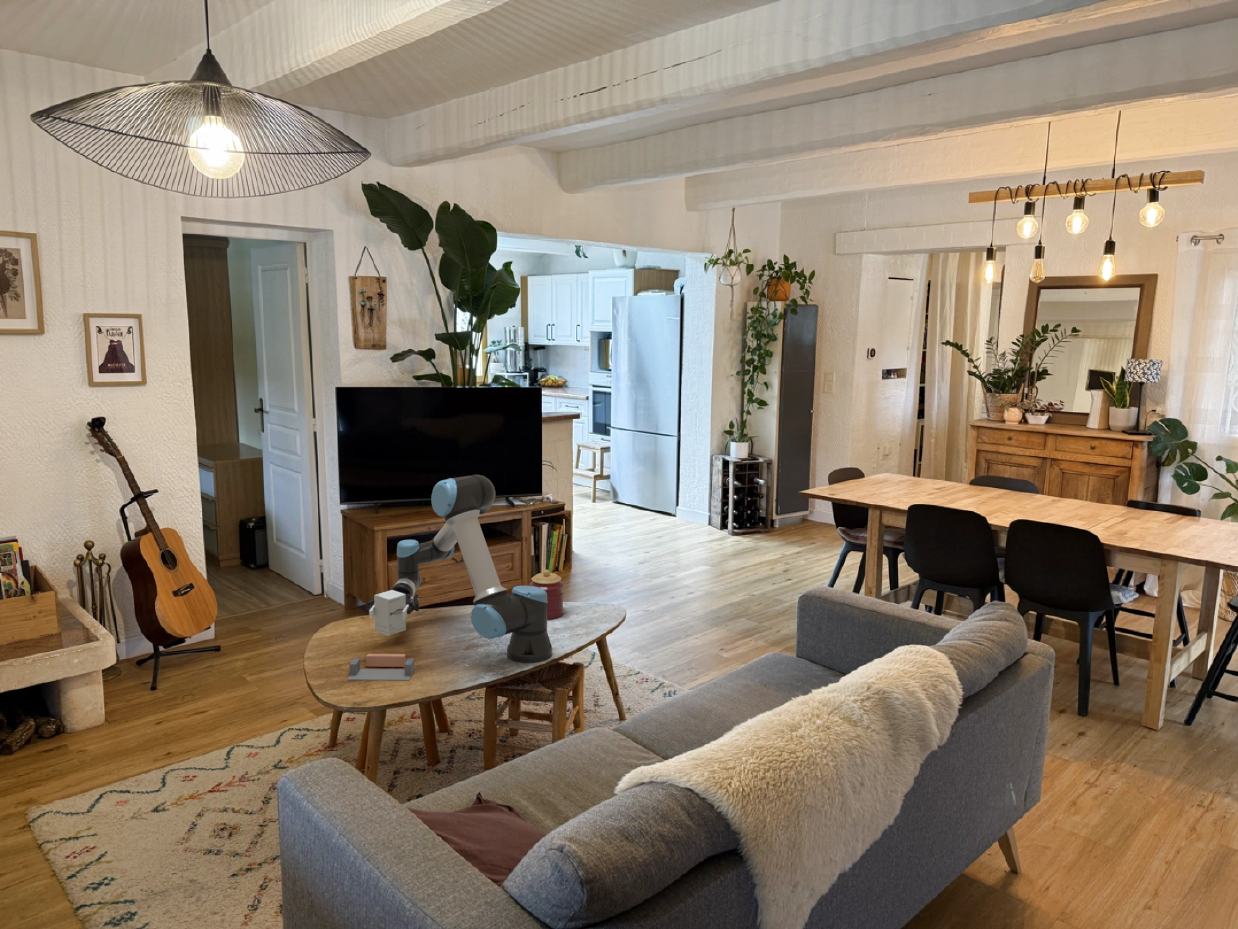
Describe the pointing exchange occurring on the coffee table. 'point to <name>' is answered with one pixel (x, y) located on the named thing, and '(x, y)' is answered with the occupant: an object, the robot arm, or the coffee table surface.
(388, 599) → the supplement box
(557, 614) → the canister
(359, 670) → the housing
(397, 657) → the pink eraser brick
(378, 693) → the coffee table surface
